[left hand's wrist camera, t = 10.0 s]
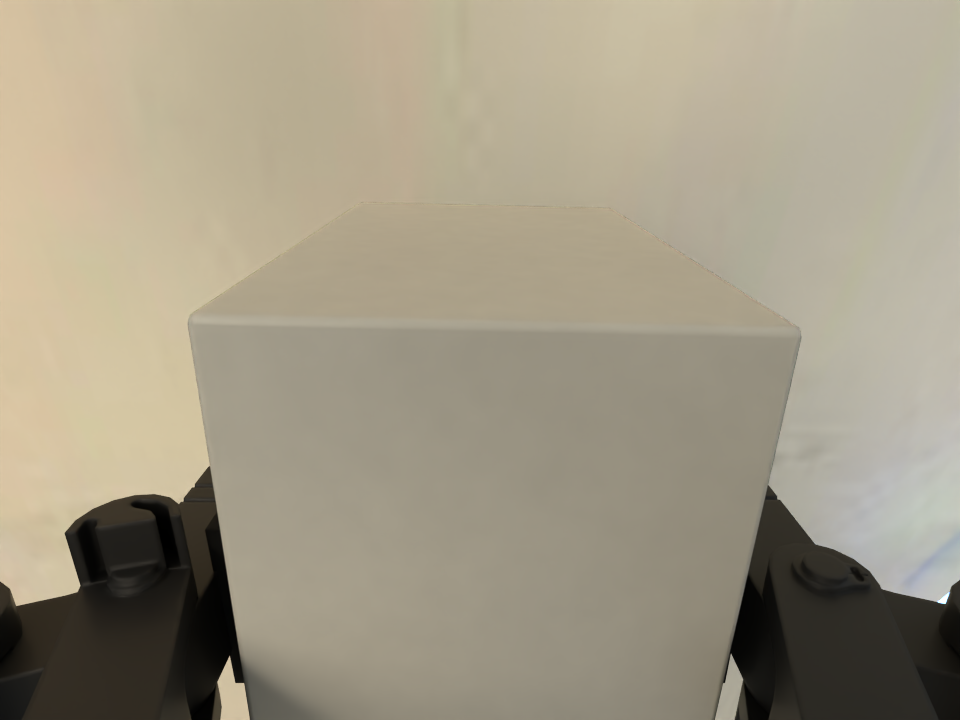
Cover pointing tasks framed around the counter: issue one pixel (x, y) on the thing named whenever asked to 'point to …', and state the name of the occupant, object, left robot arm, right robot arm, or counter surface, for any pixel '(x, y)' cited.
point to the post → (488, 466)
